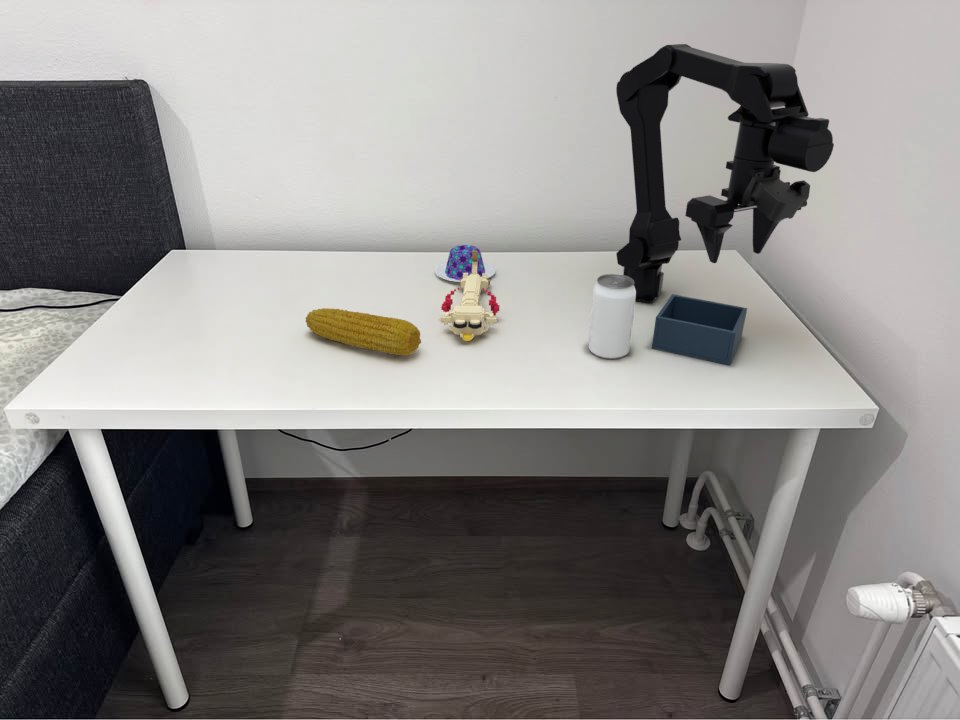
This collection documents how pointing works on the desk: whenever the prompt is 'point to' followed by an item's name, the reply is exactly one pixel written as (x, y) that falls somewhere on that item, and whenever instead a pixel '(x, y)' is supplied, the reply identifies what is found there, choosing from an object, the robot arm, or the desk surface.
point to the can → (612, 316)
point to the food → (365, 330)
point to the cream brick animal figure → (470, 305)
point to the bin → (699, 329)
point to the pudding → (462, 264)
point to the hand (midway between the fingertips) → (735, 257)
